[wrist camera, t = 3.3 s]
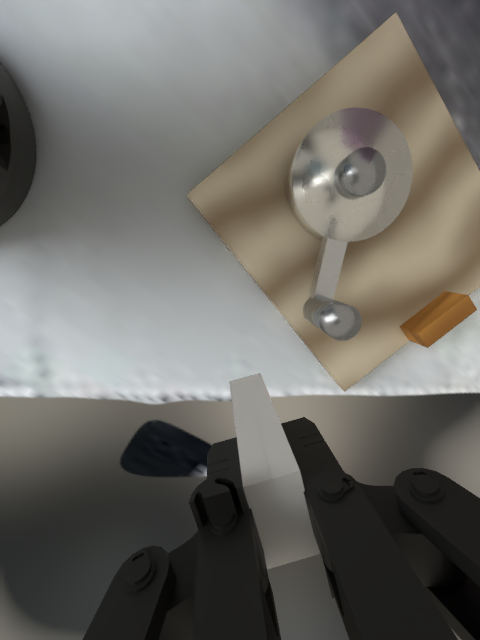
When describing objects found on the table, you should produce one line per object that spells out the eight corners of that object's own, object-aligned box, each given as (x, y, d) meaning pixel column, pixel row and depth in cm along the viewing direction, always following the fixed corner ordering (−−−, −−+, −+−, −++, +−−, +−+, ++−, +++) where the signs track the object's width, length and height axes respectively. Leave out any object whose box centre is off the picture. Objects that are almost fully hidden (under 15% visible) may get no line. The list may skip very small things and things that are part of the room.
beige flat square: (188, 198, 24) (183, 186, 20) (384, 27, 23) (419, -19, 19) (337, 384, 29) (357, 404, 25) (506, 253, 28) (554, 252, 24)
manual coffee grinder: (300, 106, 22) (334, 50, 16) (410, 136, 23) (480, 93, 17) (258, 311, 25) (273, 329, 19) (357, 328, 26) (401, 350, 20)
